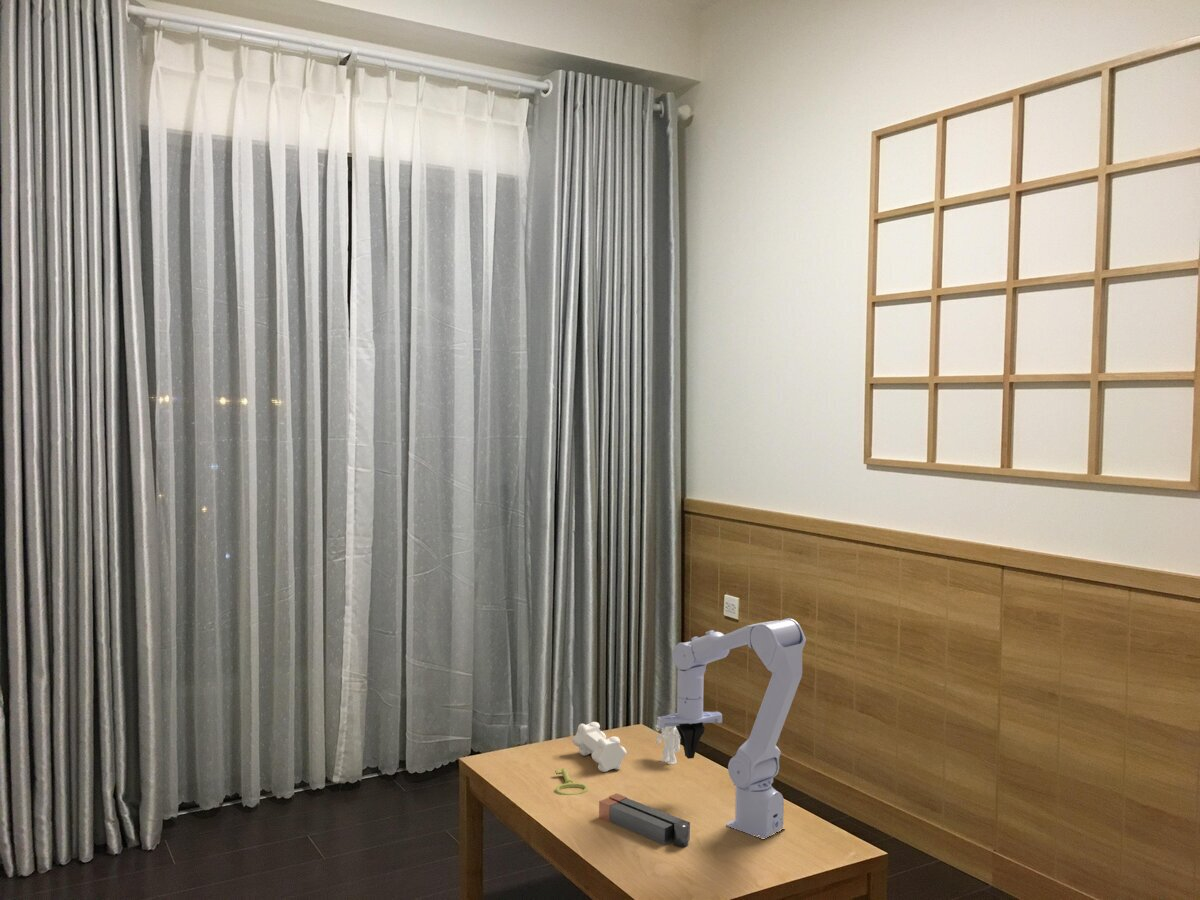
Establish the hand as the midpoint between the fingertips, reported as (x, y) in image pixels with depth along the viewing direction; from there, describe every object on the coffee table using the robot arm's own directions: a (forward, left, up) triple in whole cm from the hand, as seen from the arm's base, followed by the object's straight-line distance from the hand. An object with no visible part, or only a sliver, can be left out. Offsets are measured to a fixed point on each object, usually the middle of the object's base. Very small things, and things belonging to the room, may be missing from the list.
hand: (689, 756), depth 212 cm
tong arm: (-4, +18, -9) cm, 21 cm away
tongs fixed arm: (-2, +20, -9) cm, 22 cm away
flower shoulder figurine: (+18, -14, -10) cm, 25 cm away
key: (+24, +14, -10) cm, 29 cm away
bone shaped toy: (+30, -2, -10) cm, 31 cm away
